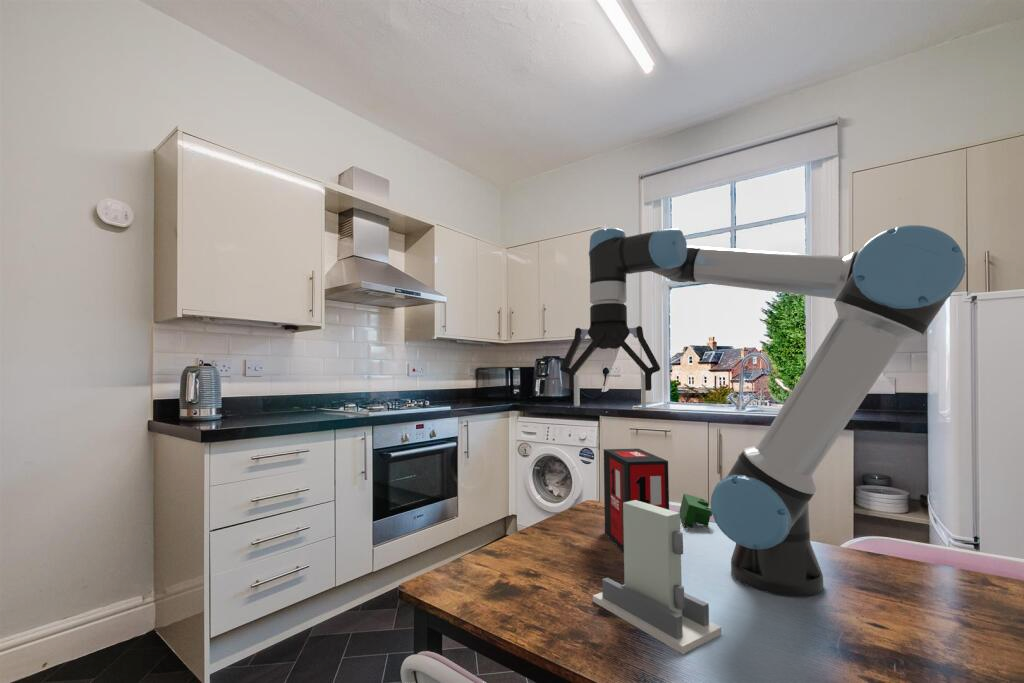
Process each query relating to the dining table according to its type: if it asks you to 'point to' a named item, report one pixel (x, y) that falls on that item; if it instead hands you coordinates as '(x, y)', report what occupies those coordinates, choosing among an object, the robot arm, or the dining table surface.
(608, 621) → the dining table surface
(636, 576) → the door
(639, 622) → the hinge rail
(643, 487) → the cleaning product box
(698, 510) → the clamp
